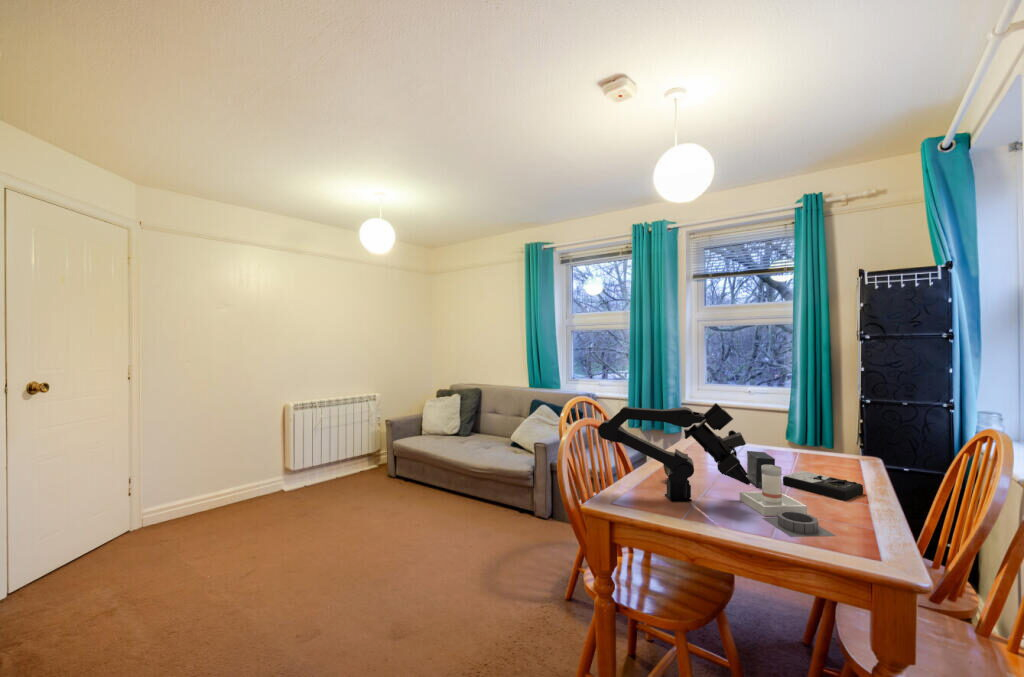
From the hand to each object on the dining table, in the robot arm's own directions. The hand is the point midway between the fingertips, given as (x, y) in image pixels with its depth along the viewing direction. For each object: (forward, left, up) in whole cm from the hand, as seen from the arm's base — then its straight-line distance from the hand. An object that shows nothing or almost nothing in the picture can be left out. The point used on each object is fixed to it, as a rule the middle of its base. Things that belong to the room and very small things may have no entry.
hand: (747, 479), depth 135 cm
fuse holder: (+4, -17, -8) cm, 19 cm away
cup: (-12, +26, -9) cm, 30 cm away
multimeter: (+35, +15, -9) cm, 39 cm away
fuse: (+6, -3, -7) cm, 10 cm away
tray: (+6, -3, -8) cm, 11 cm away
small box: (+18, +22, -9) cm, 30 cm away
